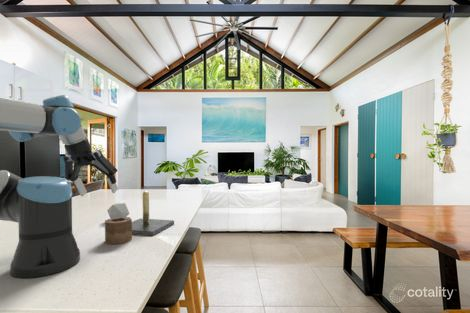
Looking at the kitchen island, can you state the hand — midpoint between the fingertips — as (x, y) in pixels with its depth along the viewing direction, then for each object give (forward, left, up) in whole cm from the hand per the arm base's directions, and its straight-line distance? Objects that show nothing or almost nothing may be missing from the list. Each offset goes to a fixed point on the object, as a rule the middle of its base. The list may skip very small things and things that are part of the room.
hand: (99, 192), depth 100 cm
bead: (-6, -13, -15) cm, 21 cm away
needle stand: (+9, -14, -15) cm, 22 cm away
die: (+17, +5, -15) cm, 23 cm away
